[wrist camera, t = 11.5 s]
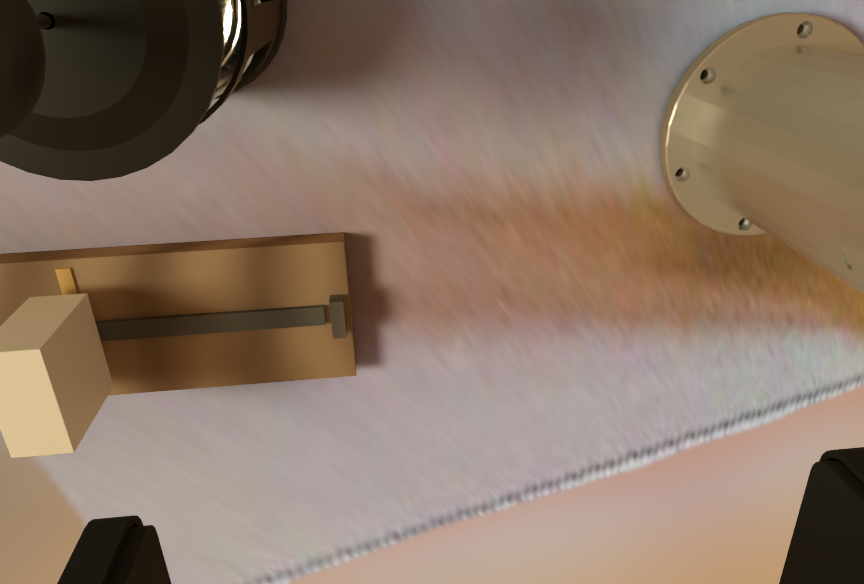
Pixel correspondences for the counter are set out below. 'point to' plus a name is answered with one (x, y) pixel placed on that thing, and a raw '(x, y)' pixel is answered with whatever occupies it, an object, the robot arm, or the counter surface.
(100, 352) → the fader cap
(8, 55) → the french press
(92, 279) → the fader board
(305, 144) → the counter surface
